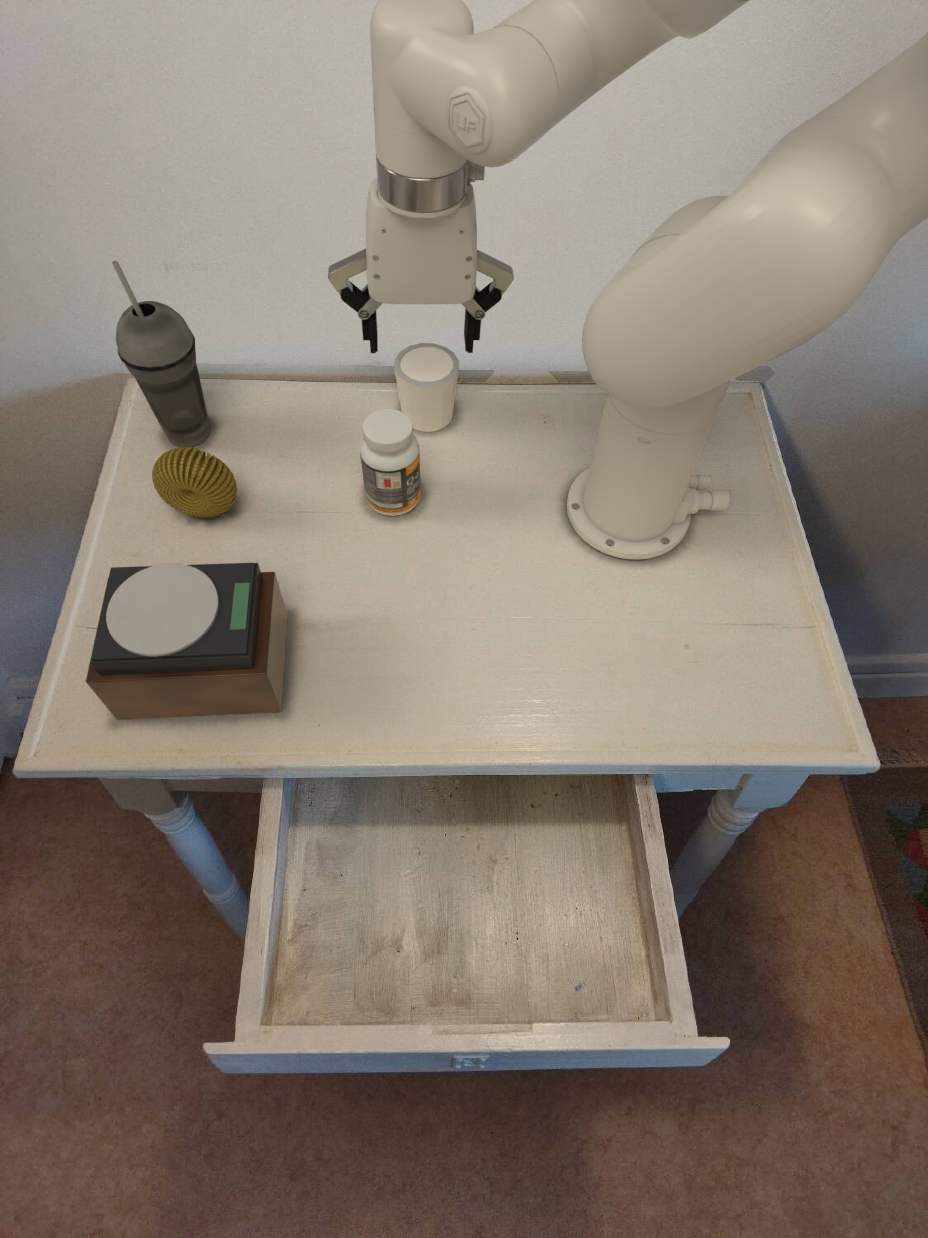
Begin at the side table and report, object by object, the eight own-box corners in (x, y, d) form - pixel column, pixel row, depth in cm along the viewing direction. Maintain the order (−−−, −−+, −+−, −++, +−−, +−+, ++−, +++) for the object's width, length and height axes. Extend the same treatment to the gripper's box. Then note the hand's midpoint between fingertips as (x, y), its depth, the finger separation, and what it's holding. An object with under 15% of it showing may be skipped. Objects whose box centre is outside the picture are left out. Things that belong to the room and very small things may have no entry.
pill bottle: (422, 517, 80) (420, 447, 71) (365, 519, 80) (357, 449, 71) (419, 475, 83) (417, 403, 74) (365, 477, 83) (356, 405, 74)
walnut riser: (288, 614, 73) (274, 571, 67) (281, 712, 68) (266, 674, 62) (134, 620, 72) (107, 577, 66) (116, 719, 67) (85, 681, 61)
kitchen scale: (262, 576, 67) (256, 558, 65) (254, 669, 62) (247, 652, 60) (118, 581, 66) (107, 563, 64) (99, 675, 62) (86, 659, 59)
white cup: (451, 440, 86) (451, 390, 80) (390, 430, 86) (386, 380, 80) (463, 397, 89) (465, 347, 83) (404, 388, 90) (402, 337, 84)
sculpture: (249, 500, 80) (232, 443, 74) (238, 530, 78) (219, 475, 72) (173, 490, 81) (149, 433, 74) (160, 520, 79) (134, 464, 72)
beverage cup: (204, 464, 83) (144, 297, 66) (141, 448, 84) (66, 280, 67) (234, 417, 87) (184, 248, 70) (173, 403, 88) (110, 233, 71)
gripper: (520, 153, 68) (502, 319, 83) (318, 150, 67) (336, 319, 81) (529, 203, 64) (508, 368, 79) (315, 201, 63) (335, 369, 78)
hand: (421, 343), depth 80 cm, fingers open, 9 cm apart
